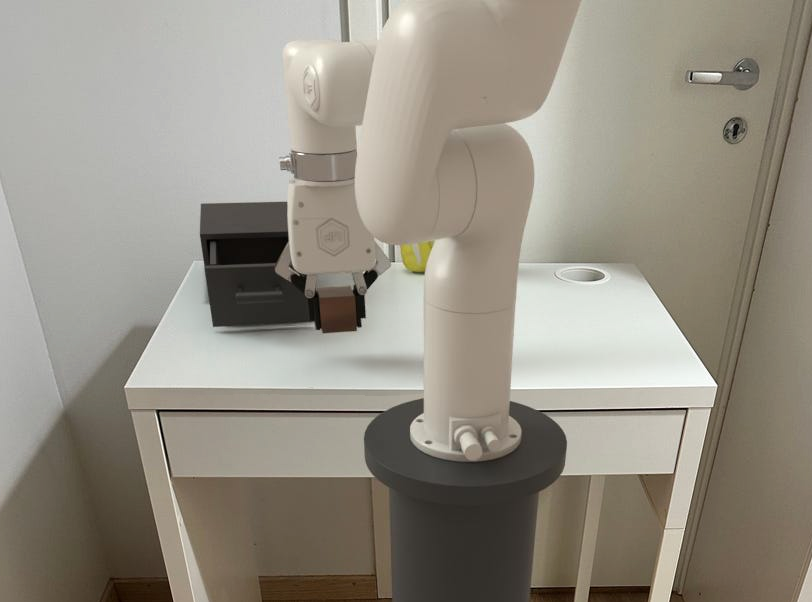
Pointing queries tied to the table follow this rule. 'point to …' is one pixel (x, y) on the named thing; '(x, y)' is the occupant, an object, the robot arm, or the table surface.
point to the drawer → (251, 284)
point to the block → (337, 309)
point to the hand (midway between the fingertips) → (337, 324)
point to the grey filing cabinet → (241, 222)
